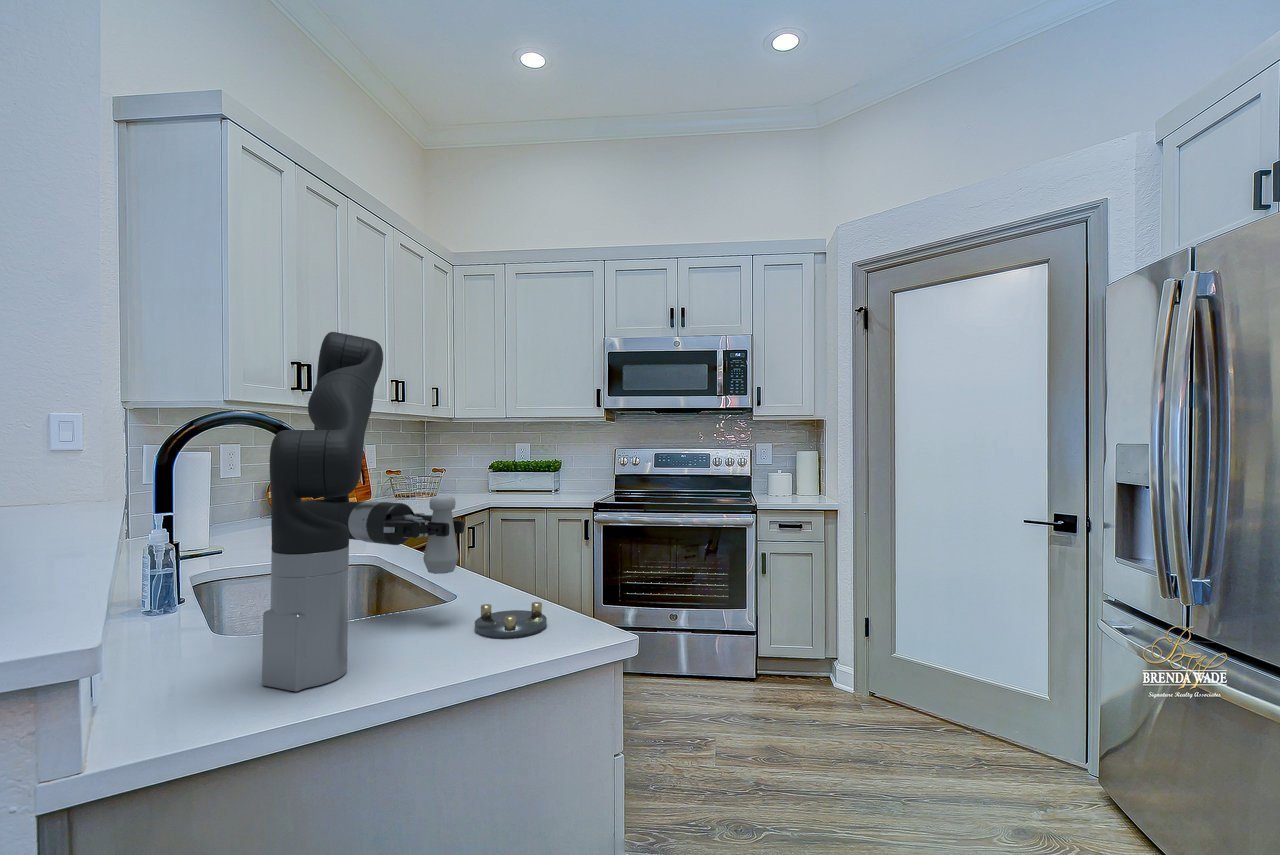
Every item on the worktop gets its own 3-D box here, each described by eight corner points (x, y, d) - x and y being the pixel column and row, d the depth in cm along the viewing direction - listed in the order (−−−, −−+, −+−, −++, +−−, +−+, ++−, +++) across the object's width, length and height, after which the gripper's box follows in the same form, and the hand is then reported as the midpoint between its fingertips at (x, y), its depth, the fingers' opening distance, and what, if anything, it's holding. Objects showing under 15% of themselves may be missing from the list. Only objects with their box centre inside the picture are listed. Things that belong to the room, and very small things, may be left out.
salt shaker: (436, 576, 100) (437, 497, 100) (416, 571, 103) (417, 495, 104) (465, 570, 105) (467, 495, 105) (445, 566, 108) (447, 494, 109)
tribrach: (523, 642, 95) (523, 622, 95) (459, 633, 99) (460, 614, 99) (558, 621, 107) (558, 602, 107) (500, 614, 111) (500, 596, 111)
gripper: (349, 505, 104) (425, 510, 97) (411, 499, 117) (482, 503, 110) (348, 549, 104) (424, 557, 97) (410, 538, 117) (482, 544, 109)
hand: (455, 528), depth 103 cm, fingers closed on salt shaker, 3 cm apart
